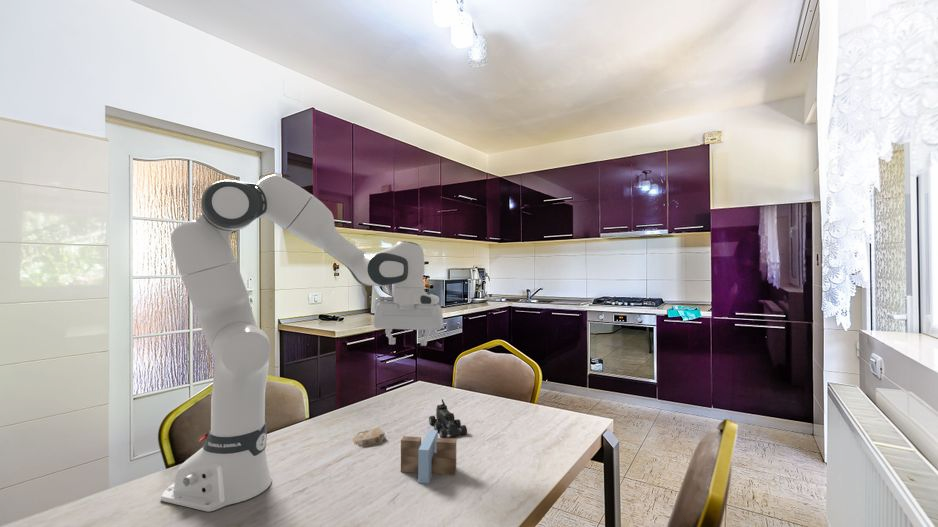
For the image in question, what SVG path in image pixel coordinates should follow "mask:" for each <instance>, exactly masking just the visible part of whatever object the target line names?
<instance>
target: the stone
mask: <svg viewBox="0 0 938 527" xmlns="http://www.w3.org/2000/svg"><path fill="white" fill-rule="evenodd" d="M385 436H386V434H385V432H384V431H383V429H382V427H379V426H378V427H374V428H370V429H367V430H366V429H365V430H364V431H359V432H358V433H356V434H355V435H354V437H352V440H353V441H352V443H353V442H354V443H353V444H354V445H355V444H356V445H355V446H357V445H358V446H357V447H361V446H363V447H367V445H368V446H372V445H377V444H381V443H383V440H384V438H385Z"/></svg>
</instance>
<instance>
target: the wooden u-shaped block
mask: <svg viewBox="0 0 938 527" xmlns="http://www.w3.org/2000/svg"><path fill="white" fill-rule="evenodd" d="M421 444H422V436H407V435H405V436H402V438H401V439H400V472H401V473H412V474H418V450H419V448H420V446H421ZM456 472H457V438H452V437H451V438H448V437H447V438H440V437H438V440H437V448H436V453H434V455H433V457H432V474H433V475H434V474H435V475H449V476H450V475H451V476H455V475H456V474H457V473H456Z"/></svg>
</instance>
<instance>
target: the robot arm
mask: <svg viewBox="0 0 938 527" xmlns="http://www.w3.org/2000/svg"><path fill="white" fill-rule="evenodd" d="M200 201H201V202H200V215H199V216H198V217H197V218H195V219H193V220H192V219H191V220H189V221H186V222H183V223H181V224H180V225H178V226H176V228H174V229H173V231H172V233H171V238H170V239H171V240H170V241H171V246H172V250H173V255H174V259H175V263H176V266H177V269H178V272H179V275H180V277H181V280H182V282H183V285H184V287H185V289H186V290H185V291H186V292H187V294H188V297H189V300H190V301H191V305H192V306H193V309H194V312H195V315H196V317H197V320H198V322H199V325H200V327H201V330H202V332H203V335H204V337H205V338H204V339H205V340H206V343H207V346H208V349H209V351H210V353H211V355H212V356H213V361H214V363H213V378H212V379H213V380H212V388H211V389H212V392H211V398H210V400H211V401H210V410H211V411H210V430H208V431H206V433H204V434H202V435H200V436H199V437H198V438H200V439H199V441H198V442H202V441H204V444H203V446H202V447H201V448H200V449H198V450H197V451H196V452H195V453H194V454H192V455H191V456H190V457H188V458H187V459H186V460H184V462H182V463H181V464H180V465H179V467H178V469H177V470H176V474H175V477H174V482H173V483H172V484H170V485H169V486H168V487H167V488H166V489H165V490H164V491H163V492H162V493H161V498H160V501H161V502H165V503H169V504H174V505H177V506H178V505H179V506H182V507H187V508H191V509H195V510H199V511H203V512H213V511H216V510H219V509H221V508H224V507H226V506H230V505H233V504H238V503H242V502H245V501H247V500H249V499H253V498H254V497H257V496H258V495H260V494H261V493H264V492H265V491H266V490H267V489H268V488H269V487H270V485H271V484H272V481H273V479H272V476H271V473H270V470H269V466H268V459H267V451H266V448H267V440H268V439H267V436H268V433H267V432H268V428H267V422H266V421H265V419H266V418H265V417H266V415H265V414H266V413H265V412H266V388H267V387H266V385H267V380H268V375H269V368H270V367H269V366H270V359H271V358H270V357H271V354H272V352H271V351H272V350H271V348H272V347H271V342H270V338H269V336H268V335H267V333H266V332H265V331H264V330H262V329H261V328H259V327H258V325H257V323H256V320H255V317H254V314H253V310H252V307H251V306H252V305H251V302H250V299H249V298H250V297H249V293H248V290H247V287H246V284H245V282H244V280H243V276H242V274H241V272H240V269H239V267H238V264H237V261H236V258H235V256H234V253H233V251H232V247H231V242H230V238H231V235H233V234H234V233H236V232H237V231H240V230H242V229H245V228H246V227H248V226H250V225H251V223H252V222H254V221H255V220H257V219H266V220H268V221H270V222H273V223H275V224H276V225H277V226H279V227H280V228H282V229H283V230H285V231H286V232H288V233H290V234H291V235H292V236H294V237H296V238H298V239H300V240H302V241H304V242H306V243H309V244H310V245H313V246H315V247H317V248H319V249H321V250H323V251H324V252H325V253H326V254H328V255H329V256H331V257H333V258H334V259H335V260H337V261H338V262H339V263H341V264H342V265H343V266H345V268H347V269H348V271H349V272H350V274H351V275H352V277H353V278H354V280H355V281H356V282H357V283H358V284H360V285H362V286H364V287H374V286H375V287H386V286H390V285H393V296H379V297H378V298H376V299H375V301H374V303H373V304H374V307H373V308H374V316H373V322H372V323H373V327H374V328H375V329H379V330H381V329H385V331H384V333H385V335H386V336H387V338H388V344H389V345H396V340H397V339H396V338H397V337H393V335H392V332H393V330H415V331H416V330H418V331H424V334H425V336H424V338H421V339H420V346H424V347H426V346H427V345H428V339H429V336H430V335H431V333H432V331H440V330H441V329H442V328H443V326H444V316H443V310H442V306H440V304H439V303H440V296H438V295H435V294H433V293H430V292H426V291H425V284H424V274H425V254H424V249H423V248H422V246H421V245H419V244H418V243H416V242H412V241H405V240H404V241H403V240H401V241H397V243H395V244H393V245H392V246H390V247H388V248H386V249H383V250H379V251H377V252H367V251H364V250H362V249H360V248H358V247H357V246H356V245H355V244H353V242H351V241H349V240H348V239H346V238H345V237H344V236H343V235H341V233H340V232H339V231H338V230H337V228H336V226H335V219H334V218H335V217H334V215H333V212H332V211H331V210H330V209H329V208H328V206H326V204H324V203H323V202H322V201H321V200H320V199H319V198H317V197H316V196H315V195H313V194H312V193H310V192H309V191H307V190H306V189H305V188H302V187H301V186H299V185H297V184H296V183H295V182H292V181H291V180H289V179H287V178H284V177H282V176H280V175H277V174H270V175H267V176H265V177H263V178H262V179H261V178H260V180H259V181H258V182H256V183H252V182H244V181H240V180H234V179H224V180H218V181H216V182H213V183H212V184H210V185H209V186H208V187H207V188H206V189H205V190H204V192H203V194H202V197H201V200H200Z"/></svg>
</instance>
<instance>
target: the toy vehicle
mask: <svg viewBox="0 0 938 527" xmlns="http://www.w3.org/2000/svg"><path fill="white" fill-rule="evenodd" d="M435 415H436V416H435ZM435 415H430V416H429V418H428V423H429V425H430V426H434V429H433V430H438V434H439V438H448V436H450V437H454V436H460V435H461V436H467V435H468V428H467V425H465V424H463V425H462V422H461V420H460V419H458V418H457V419H455V415H454V413H452V412H451V411H449V410H448V406H447V405H446V403H445V402H444V399H441V404H438V405H436V413H435Z"/></svg>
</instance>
